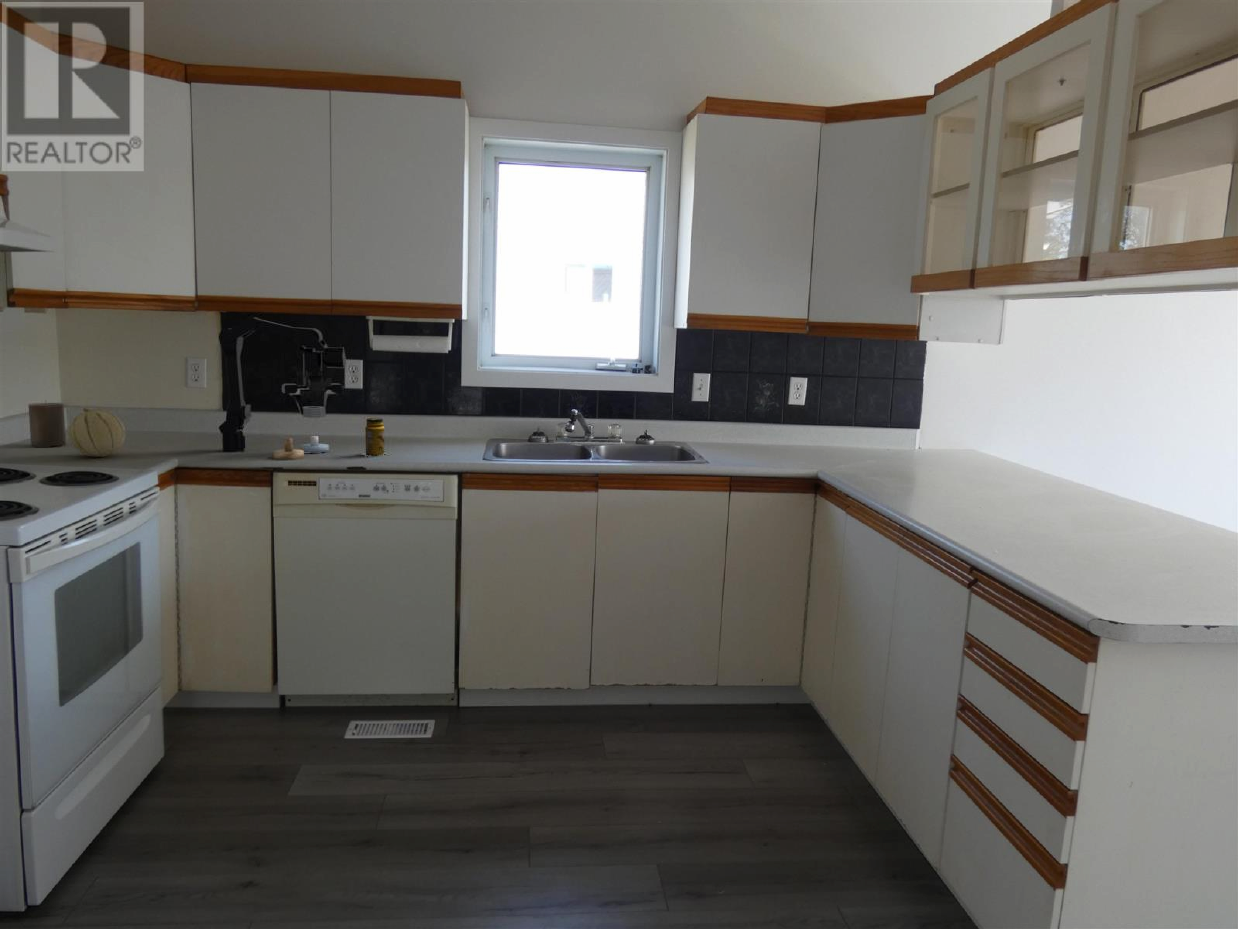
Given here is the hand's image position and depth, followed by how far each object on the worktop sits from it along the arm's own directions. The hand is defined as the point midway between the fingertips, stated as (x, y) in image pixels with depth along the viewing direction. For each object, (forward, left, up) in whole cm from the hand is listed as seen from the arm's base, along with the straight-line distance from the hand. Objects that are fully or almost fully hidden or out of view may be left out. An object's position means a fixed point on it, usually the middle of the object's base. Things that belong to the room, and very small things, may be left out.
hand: (313, 414), depth 291 cm
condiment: (+16, -12, -13) cm, 24 cm away
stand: (-10, -10, -12) cm, 19 cm away
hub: (0, 0, -12) cm, 12 cm away
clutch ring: (0, 0, -1) cm, 1 cm away
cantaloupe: (-62, +9, -13) cm, 64 cm away
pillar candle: (-76, +38, -13) cm, 86 cm away
